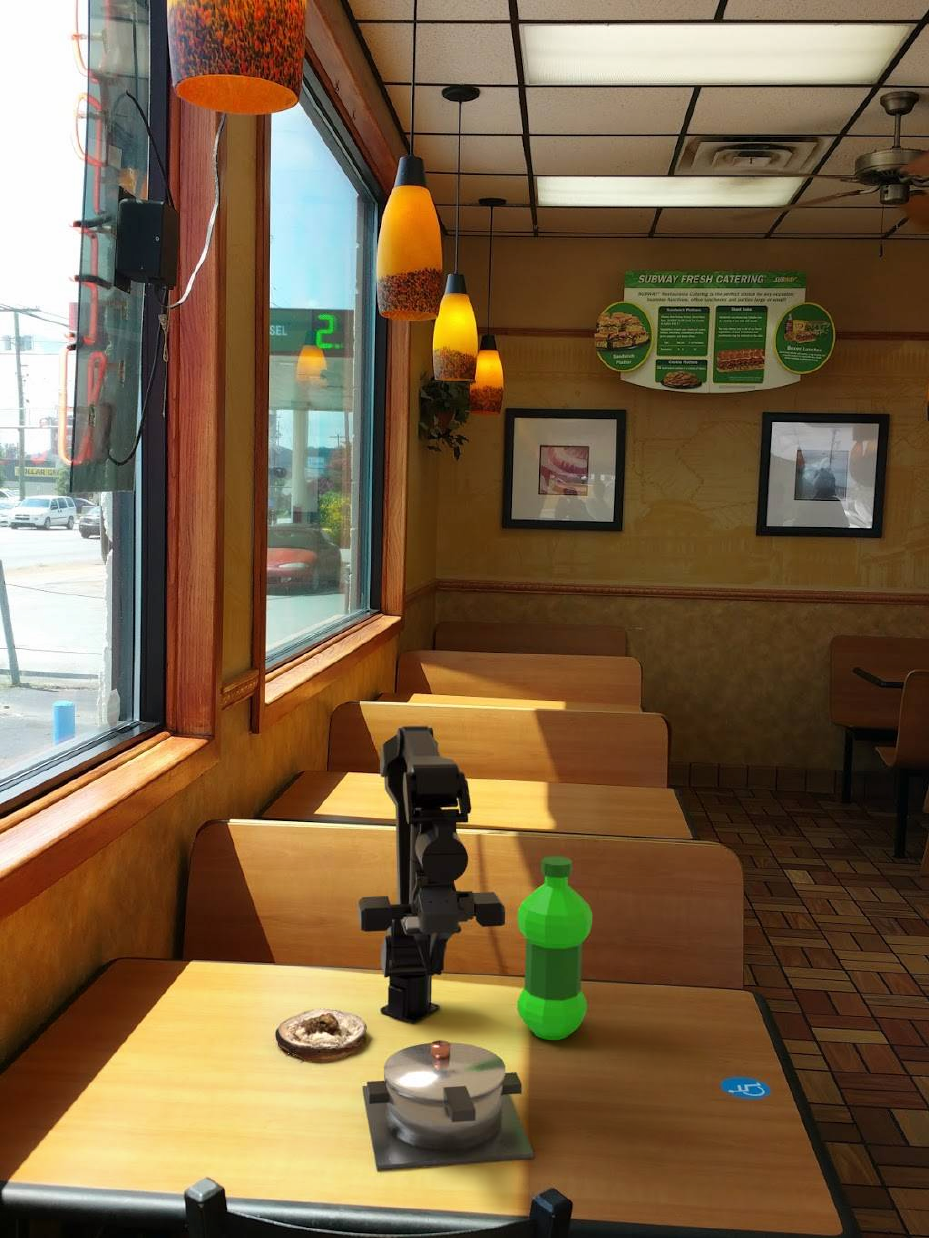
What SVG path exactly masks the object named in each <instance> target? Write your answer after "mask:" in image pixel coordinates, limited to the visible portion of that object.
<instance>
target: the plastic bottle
mask: <svg viewBox="0 0 929 1238" xmlns="http://www.w3.org/2000/svg"><path fill="white" fill-rule="evenodd" d="M540 869H541V870H540V872H541V874H542V875H543V876H544V883H543V884H541V885H540V886H539V887H537V888H535V890H534V891H532V892H531V893H530V894H529V895H528V896H527V897H526V898H525V899H524V900H523V901H522V902H520V903H521V904H519V905H520V906H519V908H518V910H517V925H518V931H519V932H520V933H522V935H523V936H524V938H525V965H524V968H525V969H524V987H523V988H522V990H521V992H520V994H519V996H518V998H517V1008H516V1009H517V1012H518V1014H519V1017H520V1018H521V1020H522V1021H523V1023H524V1024H525V1026H527V1028H528V1029H529V1030H530V1031H531V1032H532V1033H534V1035H535V1036H536V1037H538V1038H541V1039H542V1040H546V1041H547V1040H548V1041H560V1040H562V1039H565V1038H568V1037H569V1036H570V1035H571V1034H572V1033H574V1032H575V1031H576V1030H577V1029H578V1028H579V1027H580V1025H581V1023H582V1022H583V1020H584V1019H585V1016H586V1014H587V1011H588V1010H587V1009H588V1003H587V1000H586V998H585V994H584V993H583V990H582V989H581V988H582V964H583V963H582V962H583V943H584V941H585V940H586V939H587V937H588V936H589V935H590V933H591V930H592V925H593V912H592V909H591V907H590V905H589V904H588V902H586V900H585V899H584V898H583V897H582V896H581V895H580V894H579V893H577V891H576V890H574V889H573V888H572V887H571V886H570V885H568V882H569V880H568V878H569V877H570V876H571V875H572V874H573V873H572V872H573V871H572V870H573V861H572V860H571V859H570V858H568V857H563V856H547V857H546V856H545V857H543V858H542V859H541V867H540Z"/></svg>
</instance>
